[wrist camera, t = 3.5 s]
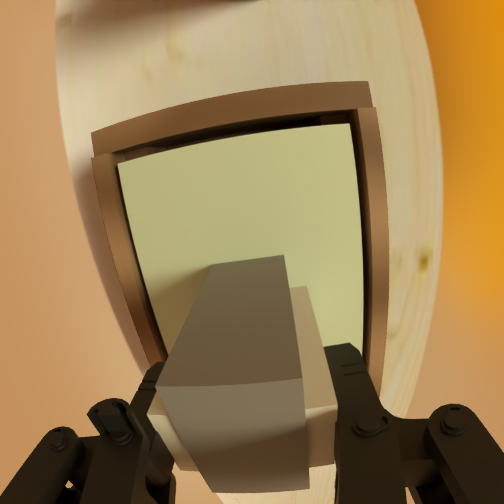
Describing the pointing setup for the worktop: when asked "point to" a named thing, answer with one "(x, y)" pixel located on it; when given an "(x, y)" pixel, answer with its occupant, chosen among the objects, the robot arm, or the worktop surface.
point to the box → (238, 124)
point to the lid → (247, 289)
